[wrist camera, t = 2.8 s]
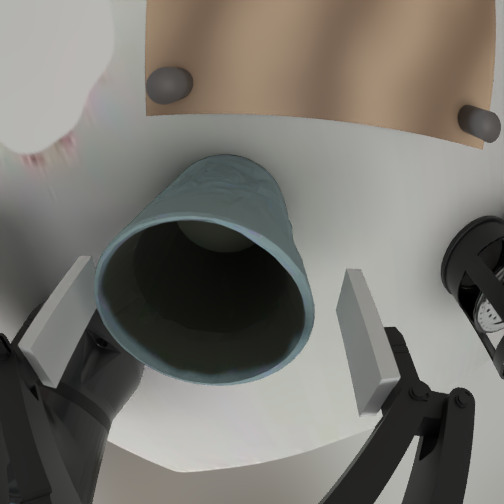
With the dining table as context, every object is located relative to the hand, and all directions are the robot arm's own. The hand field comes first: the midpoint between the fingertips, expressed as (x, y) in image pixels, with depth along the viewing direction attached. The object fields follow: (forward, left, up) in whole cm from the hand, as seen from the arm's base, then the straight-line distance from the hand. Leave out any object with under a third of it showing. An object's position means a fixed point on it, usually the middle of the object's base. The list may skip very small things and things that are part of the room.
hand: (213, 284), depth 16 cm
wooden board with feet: (+6, +17, -9) cm, 20 cm away
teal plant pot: (0, 0, -10) cm, 10 cm away
